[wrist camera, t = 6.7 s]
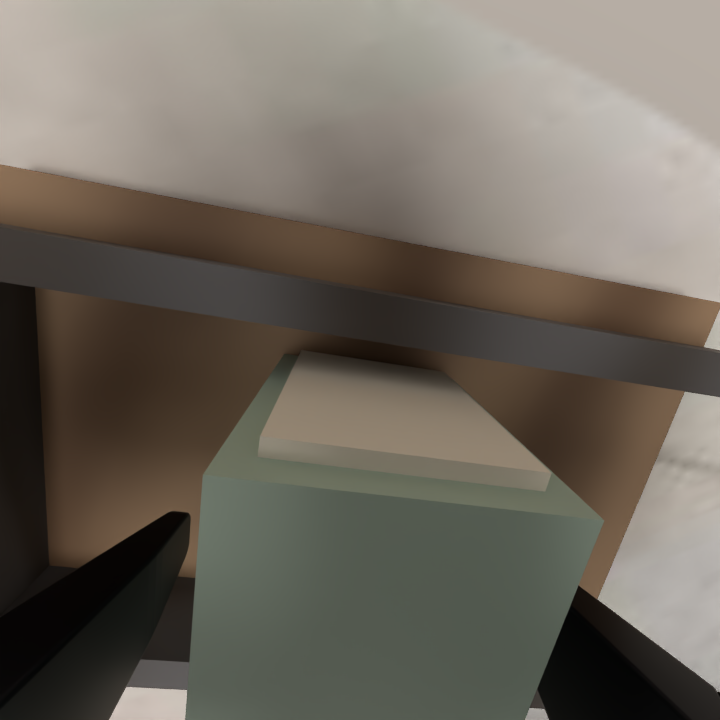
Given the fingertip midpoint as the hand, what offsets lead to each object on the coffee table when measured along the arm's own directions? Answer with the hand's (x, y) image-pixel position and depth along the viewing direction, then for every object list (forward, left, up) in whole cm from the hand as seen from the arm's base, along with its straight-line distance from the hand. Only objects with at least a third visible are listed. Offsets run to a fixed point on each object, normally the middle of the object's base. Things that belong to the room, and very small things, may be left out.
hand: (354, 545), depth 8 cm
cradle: (0, 0, -4) cm, 4 cm away
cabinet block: (0, 0, -3) cm, 3 cm away
